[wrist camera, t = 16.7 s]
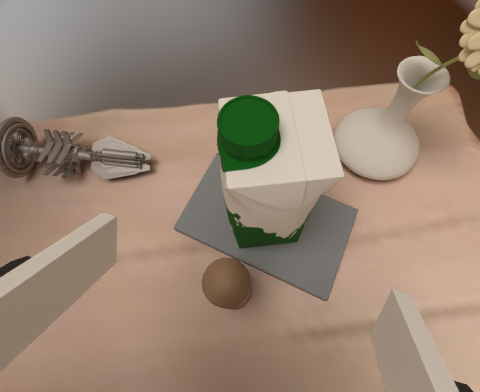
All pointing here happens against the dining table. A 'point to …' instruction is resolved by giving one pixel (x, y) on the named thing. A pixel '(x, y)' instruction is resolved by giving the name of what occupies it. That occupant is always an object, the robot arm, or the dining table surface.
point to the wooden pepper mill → (227, 283)
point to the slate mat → (280, 255)
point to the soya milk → (274, 163)
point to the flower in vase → (401, 111)
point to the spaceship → (66, 153)
